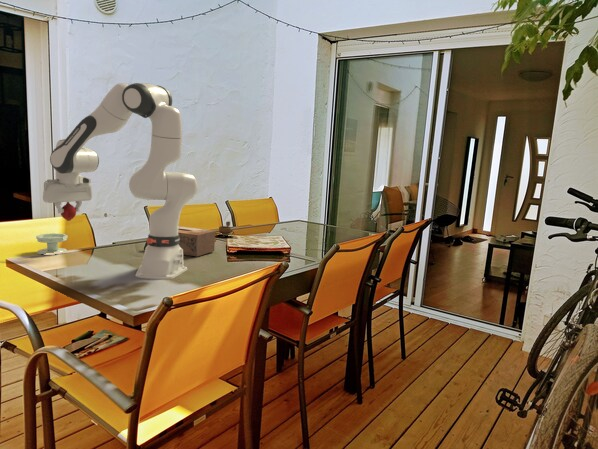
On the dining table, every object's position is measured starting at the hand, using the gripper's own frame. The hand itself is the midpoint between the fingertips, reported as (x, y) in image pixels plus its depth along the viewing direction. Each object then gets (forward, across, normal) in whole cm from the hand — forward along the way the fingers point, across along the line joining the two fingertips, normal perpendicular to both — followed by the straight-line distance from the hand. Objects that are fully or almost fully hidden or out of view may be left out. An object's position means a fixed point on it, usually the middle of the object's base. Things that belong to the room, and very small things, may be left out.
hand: (68, 212), depth 180 cm
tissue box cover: (+19, +41, -26) cm, 52 cm away
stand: (+19, 0, +11) cm, 22 cm away
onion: (+4, 0, 0) cm, 4 cm away
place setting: (+20, +95, -15) cm, 98 cm away
